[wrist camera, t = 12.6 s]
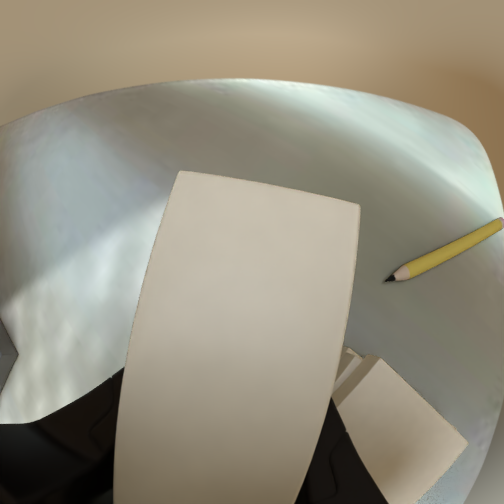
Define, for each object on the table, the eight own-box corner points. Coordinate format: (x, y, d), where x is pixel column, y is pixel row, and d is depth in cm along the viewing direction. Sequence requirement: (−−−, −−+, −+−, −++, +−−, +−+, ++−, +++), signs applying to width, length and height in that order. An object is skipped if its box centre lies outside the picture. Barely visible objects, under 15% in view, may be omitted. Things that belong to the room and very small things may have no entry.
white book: (254, 415, 13) (249, 588, 2) (210, 406, 13) (115, 553, 2) (281, 297, 15) (362, 202, 3) (237, 287, 15) (177, 167, 3)
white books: (436, 418, 13) (474, 435, 8) (376, 485, 12) (402, 517, 7) (342, 342, 14) (373, 351, 10) (269, 423, 13) (274, 460, 9)
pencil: (378, 275, 15) (385, 272, 14) (495, 219, 16) (502, 215, 15) (383, 290, 15) (390, 288, 14) (499, 230, 16) (506, 226, 15)
